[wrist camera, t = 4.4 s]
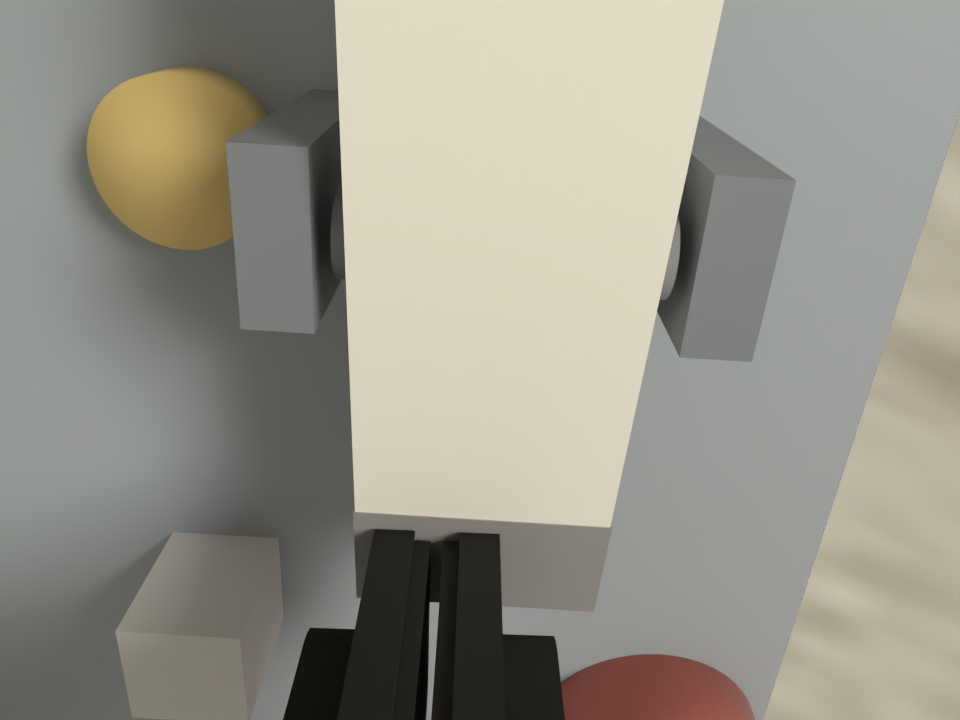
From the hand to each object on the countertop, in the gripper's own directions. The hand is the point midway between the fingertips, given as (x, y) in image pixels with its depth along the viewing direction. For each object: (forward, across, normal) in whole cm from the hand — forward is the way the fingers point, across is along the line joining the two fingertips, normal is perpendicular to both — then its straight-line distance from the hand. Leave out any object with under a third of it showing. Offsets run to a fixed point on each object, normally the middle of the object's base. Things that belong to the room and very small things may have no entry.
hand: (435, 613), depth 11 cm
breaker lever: (0, -1, -5) cm, 5 cm away
